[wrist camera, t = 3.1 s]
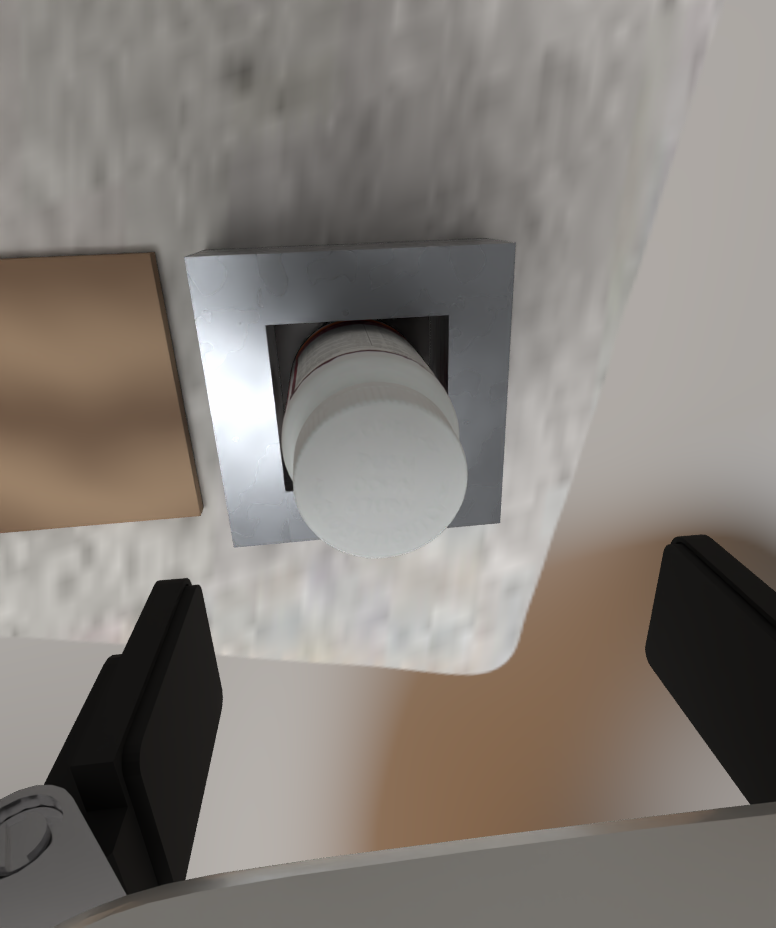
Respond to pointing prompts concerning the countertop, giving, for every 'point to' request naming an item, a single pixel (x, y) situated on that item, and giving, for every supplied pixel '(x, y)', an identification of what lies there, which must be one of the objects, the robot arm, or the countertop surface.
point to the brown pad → (89, 396)
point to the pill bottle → (371, 441)
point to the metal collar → (344, 299)
